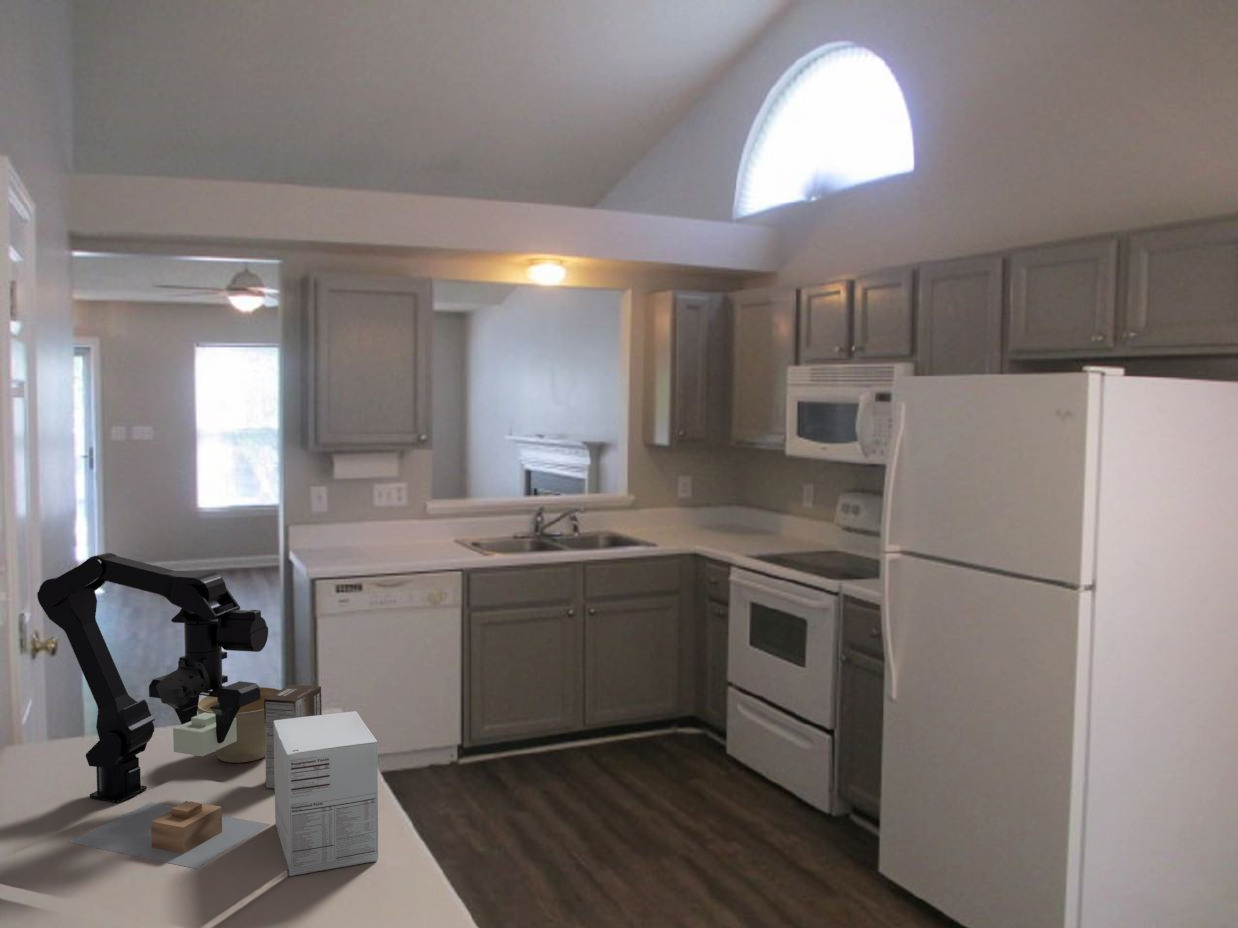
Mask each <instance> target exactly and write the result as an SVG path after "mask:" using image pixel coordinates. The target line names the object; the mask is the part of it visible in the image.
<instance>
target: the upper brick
mask: <svg viewBox="0 0 1238 928" xmlns="http://www.w3.org/2000/svg"><path fill="white" fill-rule="evenodd" d="M172 732H173V733H172V734H173V735H172V737H173V738H172V739H173V753H177V754H186V755H191V756H195V757H196V756H197V757H206V756H207V755H209V754H211V753H214V752H216V750H218V749H220V748H223V747H225V746H227V745H229V744H231V743H234V742H236V741H237V728H236V718H234V720H233V722H232V724H231V727H230V729H229V731H228V733H227V736H226V738H225V740H224V742H222V743H218V741H217V735H216V715H215V714H212V713H205V712H204V713H202V714H199V713H198V714H197V716H194V717H192V718H191V721H190V722H187V723H185V724H182V725H180V724H179V725H177V726H176V727H174V728H173V729H172Z"/></svg>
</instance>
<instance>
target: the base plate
mask: <svg viewBox="0 0 1238 928" xmlns="http://www.w3.org/2000/svg"><path fill="white" fill-rule="evenodd" d="M174 807H175V806H174V805H169V804H162V803H157V802H151V801H150V802H148V803H146V804H144V805H142V806H140V807H137V808H135V809H133V810H132V811H129V812H126V813H125V814H124V815H123V814H122V815H121V816H119V817H117V818H115V819H113V820H110V821H109V822H106V823H105V824H103V825H100V826H99V827H96V828H94V829H93V830H91V831H88V832H86V833H84V834H82V835H79V836H78V837H76V838H73V839H71V840H70V841H68V843H70V844H75V845H81V846H85V847H88V848H89V847H90V848H93V849H99V850H103V851H108V852H109V851H110V852H112V853H113V852H114V853H119V854H122V855H128V856H133V857H137V858H142V859H147V860H151V861H157V862H162V863H166V864H172V865H175V866H179V867H186V868H188V869H189V868H190V869H194V870H197V869H198V868H201V867H202V866H204V865H205V864H207V863H209V862H210V861H211V860H213V859H215V858H217V857H219V856H220V855H222V854H224V853H225V852H227V851H229V850H230V849H232V848H234V847H235V846H237V845H238V844H240V843H242V842H244V841H245V840H247V839H249V838H251V837H253V836H254V835H255V834H257V833H259V832H260V831H262V830H264V829H266V828H267V827H269V826H270V825H271V823H270V824H269V823H265V822H260V821H254V820H249V819H243V818H238V817H232V816H227V815H223V814H222V833H220V834H218V835H216V836H215V837H213V838H211V839H209V840H208V841H206V842H204V843H202V844H200V845H199V846H197V847H195V848H193V849H192V850H190V851H188V852H186V853H185V854H181V853H176V852H171V851H167V850H162V849H157V848H152V840H151V821H153V820H155V819H157V818H159V817H161V816H163V815H164V814H166V813H168V812H170V811H172V808H174Z"/></svg>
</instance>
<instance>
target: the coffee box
mask: <svg viewBox="0 0 1238 928" xmlns="http://www.w3.org/2000/svg"><path fill="white" fill-rule="evenodd" d="M279 690H280V691H278V692H276V693H274V694H272V695H271V696H269V697H267V698H265V699H264V720H265V757H264V759H265V788H267V789H274V790H275V779H274V727H273V721H274V720H282V719H291V718H299V717H308V716H317V715H323V714H322V713H323V712H322V710H323V709H322V685H321V686H320V685H319V686H317V685H299V684H298V685H297V684H289V685H287V686H286V687H283V688H282V689H279Z"/></svg>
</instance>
